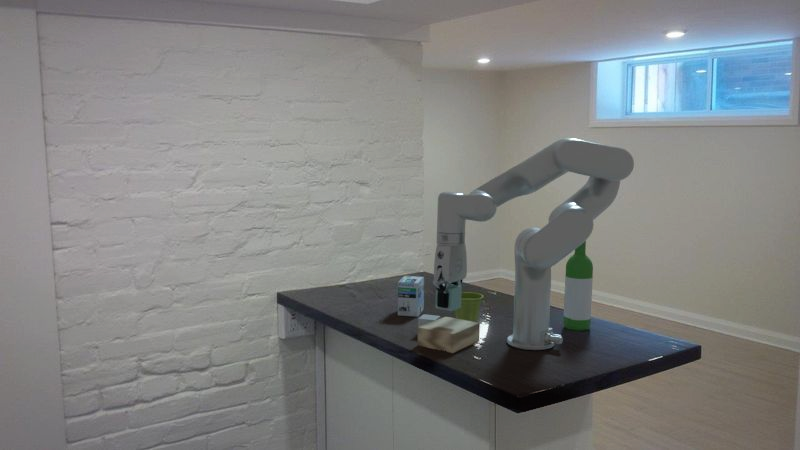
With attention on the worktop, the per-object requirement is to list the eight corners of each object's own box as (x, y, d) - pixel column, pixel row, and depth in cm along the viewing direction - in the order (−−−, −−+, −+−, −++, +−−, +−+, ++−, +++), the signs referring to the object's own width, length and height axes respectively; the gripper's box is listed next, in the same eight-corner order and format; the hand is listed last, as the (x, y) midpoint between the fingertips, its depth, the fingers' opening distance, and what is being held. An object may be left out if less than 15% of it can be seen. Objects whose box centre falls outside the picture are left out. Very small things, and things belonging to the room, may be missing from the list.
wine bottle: (575, 323, 213) (580, 224, 210) (595, 329, 207) (600, 227, 203) (557, 326, 209) (561, 226, 205) (577, 333, 203) (582, 229, 199)
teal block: (460, 307, 191) (461, 286, 190) (451, 311, 187) (452, 289, 186) (445, 304, 194) (445, 283, 193) (435, 308, 190) (436, 286, 189)
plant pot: (447, 326, 208) (447, 297, 207) (455, 318, 217) (456, 290, 216) (478, 329, 205) (479, 300, 204) (485, 321, 214) (486, 293, 213)
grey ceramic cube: (440, 333, 201) (440, 316, 201) (434, 337, 197) (435, 320, 196) (423, 331, 203) (423, 314, 203) (417, 335, 199) (418, 318, 198)
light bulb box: (418, 317, 218) (418, 283, 217) (397, 315, 220) (397, 281, 218) (424, 309, 229) (424, 276, 227) (403, 307, 230) (404, 275, 229)
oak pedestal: (479, 340, 194) (479, 322, 193) (452, 353, 183) (453, 334, 182) (445, 333, 200) (445, 316, 200) (417, 345, 189) (417, 327, 188)
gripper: (445, 243, 179) (443, 313, 181) (478, 236, 193) (476, 301, 195) (421, 240, 183) (419, 308, 185) (455, 233, 197) (452, 297, 199)
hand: (448, 304), depth 190 cm, fingers closed on teal block, 5 cm apart
